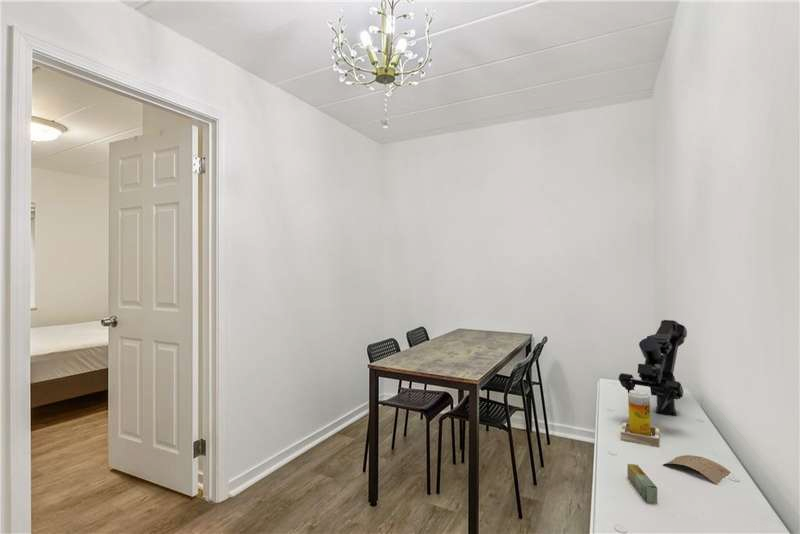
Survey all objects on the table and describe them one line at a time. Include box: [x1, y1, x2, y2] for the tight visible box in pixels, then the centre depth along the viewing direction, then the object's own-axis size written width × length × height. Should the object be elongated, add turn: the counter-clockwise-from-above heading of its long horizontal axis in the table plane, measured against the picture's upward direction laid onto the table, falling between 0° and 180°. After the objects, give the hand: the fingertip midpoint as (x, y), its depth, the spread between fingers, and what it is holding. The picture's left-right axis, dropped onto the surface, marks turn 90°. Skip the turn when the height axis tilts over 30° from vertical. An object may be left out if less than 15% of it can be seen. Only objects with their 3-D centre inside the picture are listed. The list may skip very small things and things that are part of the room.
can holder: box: [620, 421, 660, 447], centre depth 130 cm, size 10×10×2 cm
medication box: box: [627, 463, 658, 504], centre depth 100 cm, size 12×3×4 cm, turn 170°
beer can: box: [627, 389, 652, 437], centre depth 130 cm, size 6×6×15 cm
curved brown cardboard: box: [665, 454, 732, 485], centre depth 109 cm, size 14×10×3 cm
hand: (645, 406), depth 135 cm, fingers open, 9 cm apart
